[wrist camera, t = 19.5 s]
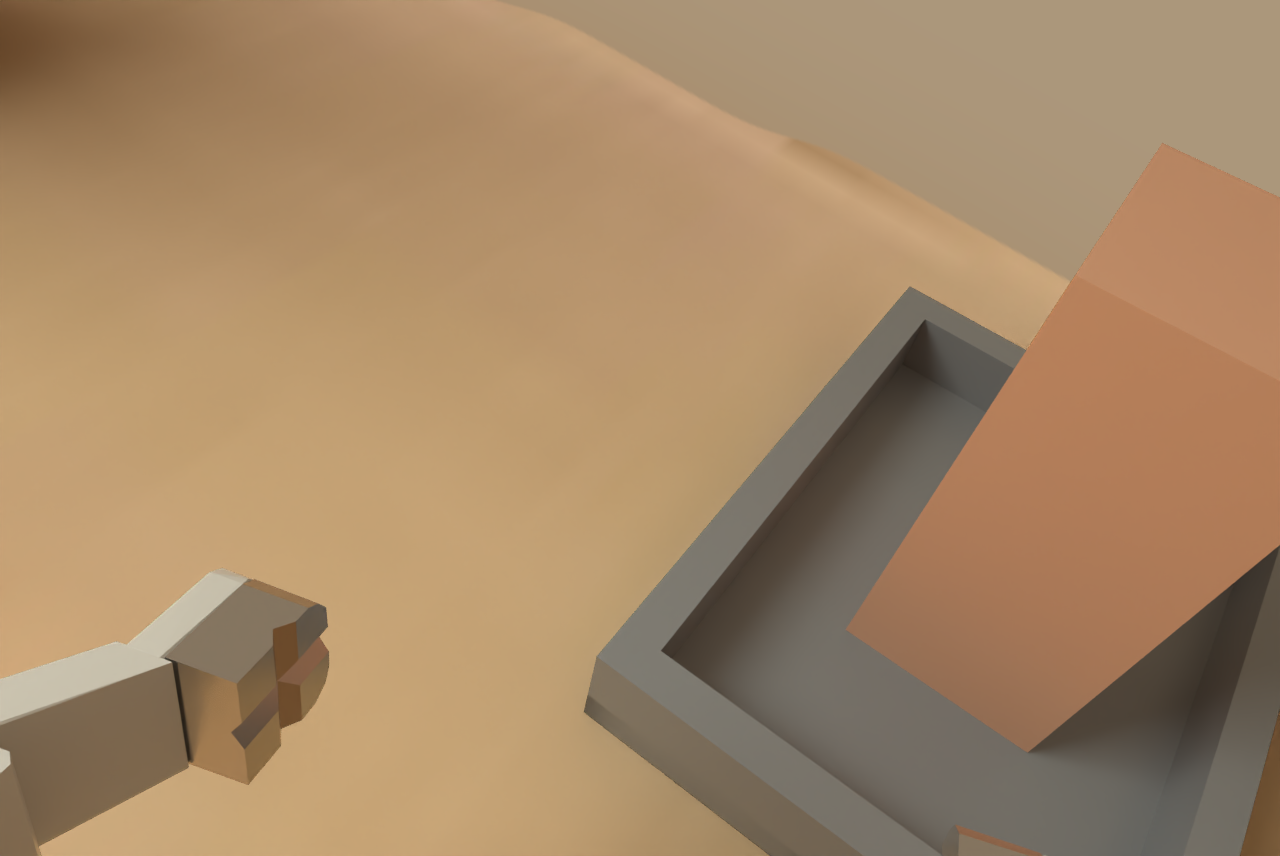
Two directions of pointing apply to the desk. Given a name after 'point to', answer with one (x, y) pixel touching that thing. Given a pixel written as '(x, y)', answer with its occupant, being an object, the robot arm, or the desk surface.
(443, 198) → the desk surface
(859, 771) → the tray
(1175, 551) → the block
